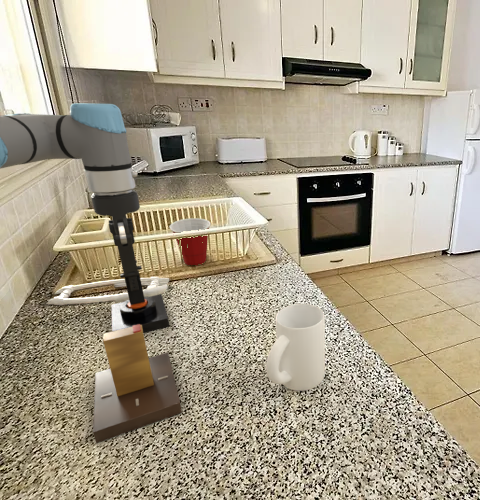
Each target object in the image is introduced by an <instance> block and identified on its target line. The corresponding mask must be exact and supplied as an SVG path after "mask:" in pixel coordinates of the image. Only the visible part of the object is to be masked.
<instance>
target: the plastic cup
mask: <svg viewBox="0 0 480 500" xmlns="http://www.w3.org/2000/svg"><path fill="white" fill-rule="evenodd" d="M211 225H212V223H211V222H210V220H208V219H205V218H201V217H200V218H198V217H196V218H193V217H191V218H183V219H178V220H176V221H174V222H172V223H170V225H169V226H168V227H169V229H170V232H172V234H173V233H181V232H183V231H191V230H198V231H199V229H201V230H205V229H209V230H210V227H211ZM175 240H176V243H177V246H178V249H179V250H180V247H179V240H178V239H176V238H175ZM180 240H181V246H182V254H181V256H182V255H183V257H182V260H183V263H184V264H185V265H186V264H187V265H186V266H188V265H197V266H199V265H198V264H201V265H203V264H202V263H204V262H205V261H207V252H208V242H209V241H208V240H209V235H208V236H203V237H201V236H198V237H195V238H193V237H191V238H182V239H180ZM202 242H203V243H202ZM187 244H188V248H187ZM205 263H206V262H205ZM205 263H204V264H205Z"/></svg>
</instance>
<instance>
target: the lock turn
mask: <svg viewBox="0 0 480 500" xmlns="http://www.w3.org/2000/svg"><path fill="white" fill-rule="evenodd" d="M102 342H103V346H104V350H105V354H106V358H107V361H108V366H109V369H110V370H111V373H112V377H113V381H114V385H115V389H116V393H117V396H121V395H124V394H127V393H131V392H134V391H137V390H140V389H143V388H146V387H150V386H153V385H154V382H153V376H152V372H151V367H150V362H149V358H150V357H149V354H148V353H149V352H148V348H147V343H146V339H145V333H143V329H142V325H140V324H138V325H134V326H133V327H130V328H125V329H121V330H117V331H113V332H112V331H109V332H104V333H103V334H102Z"/></svg>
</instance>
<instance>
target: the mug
mask: <svg viewBox="0 0 480 500" xmlns="http://www.w3.org/2000/svg"><path fill="white" fill-rule="evenodd" d="M274 320H275V336H276V340H275V341H274V343H273V344H272V345H271V348H270V349H269V352H268V355H267V358H266V361H265V372H266V376H267V378H268V380H269V381H270V382H271V383H272V384H275V385H283V387H285V388H286V389H288V390H290V391H296V392H303V391H308V390H312V389H314V388H316V387H318V386H319V385H320V384H321V383H322V382H323V380H324V379H325V377H326V317H325V313H324V311H323V309H322V308H320V307H319V306H317V305H314V304H310V303H293V304H290V305H287V306H284V307H282V308H281V309H280V310H278V311H277V313H276V315H275V318H274Z"/></svg>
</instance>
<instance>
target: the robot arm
mask: <svg viewBox="0 0 480 500" xmlns="http://www.w3.org/2000/svg"><path fill="white" fill-rule="evenodd" d="M121 111H122V110H121V109H120V108H119V107H118V106H117V105H116V104H113V103H88V102H87V103H79V102H78V103H77V102H75V103H72V104H71V105H70V106H69V114H62V115H61V114H43V113H42V114H41V113H40V114H39V113H26V112H24V113H13V114H12V113H11V114H9V113H8V114H4V115H0V170H1V169H5V168H10V167H15V166H20V165H26V164H31V163H32V164H33V163H37V162H41V161H42V162H43V161H47V160H81V161H82V164H83V170H84V171H83V172H84V174H85V175H84V176H85V179H86V183H87V188H88V191H89V192H91V193H92V194H91V195H90V198H91V203H92V206H93V211H94V213H95V214H96V215H98V216H103V217H107V216H109V217H111V219H110V220H108V228H109V232H110V234H111V235H112V238H113V239H112V240H113V243H114V245H115V246H116V247H117V251H118V255H119V258H120V263H121V268H122V272H123V273H120V274H119V276H120V279H125V282H126V286H125V287H126V290H127V293H128V296H129V300H130V305H132V304H136V303H141V302H145V299H144V294H143V290H144V289H143V285H142V284H141V279H140V278H141V275H140V270H143V268H142V265H138V261H137V259H136V253H135V249H134V244H135V242H136V241H135V237H134V230H135V228H134V224H133V218H132V217H127V215H128V214H133V213H135V212H138V211H139V210H140V208H141V205H140V200H139V194H138V191H136V190H135V188H136V186H137V185H136V181H135V178H137V177H138V172H136V171H133V164H132V161H131V155H130V149H129V148H130V147H129V143H128V136H127V128H126V126H125V122H124V119H123V115H122V112H121Z"/></svg>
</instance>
